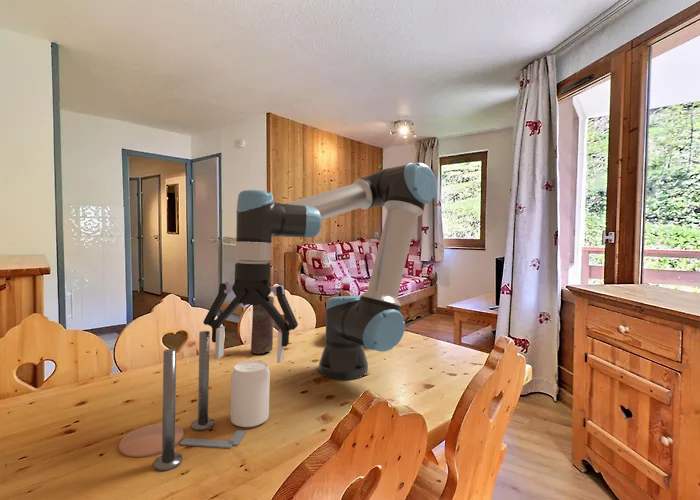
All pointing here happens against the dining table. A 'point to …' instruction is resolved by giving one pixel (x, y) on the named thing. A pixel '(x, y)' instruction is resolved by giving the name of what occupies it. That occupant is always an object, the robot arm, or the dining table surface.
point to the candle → (262, 329)
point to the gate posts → (169, 396)
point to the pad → (146, 441)
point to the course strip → (215, 441)
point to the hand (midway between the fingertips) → (249, 359)
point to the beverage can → (250, 393)
